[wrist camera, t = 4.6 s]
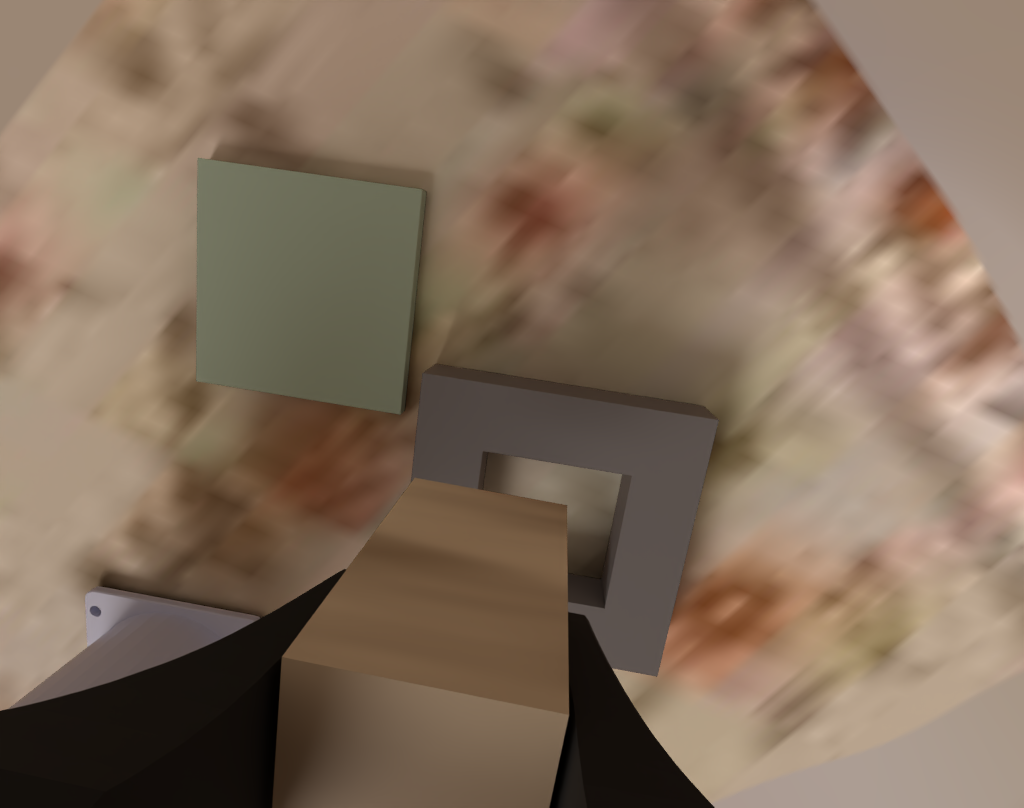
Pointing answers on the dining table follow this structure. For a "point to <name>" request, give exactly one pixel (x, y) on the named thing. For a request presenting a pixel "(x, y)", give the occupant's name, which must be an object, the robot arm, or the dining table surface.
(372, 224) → the green mat
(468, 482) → the pocket plate
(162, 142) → the dining table surface
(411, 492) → the beech block
